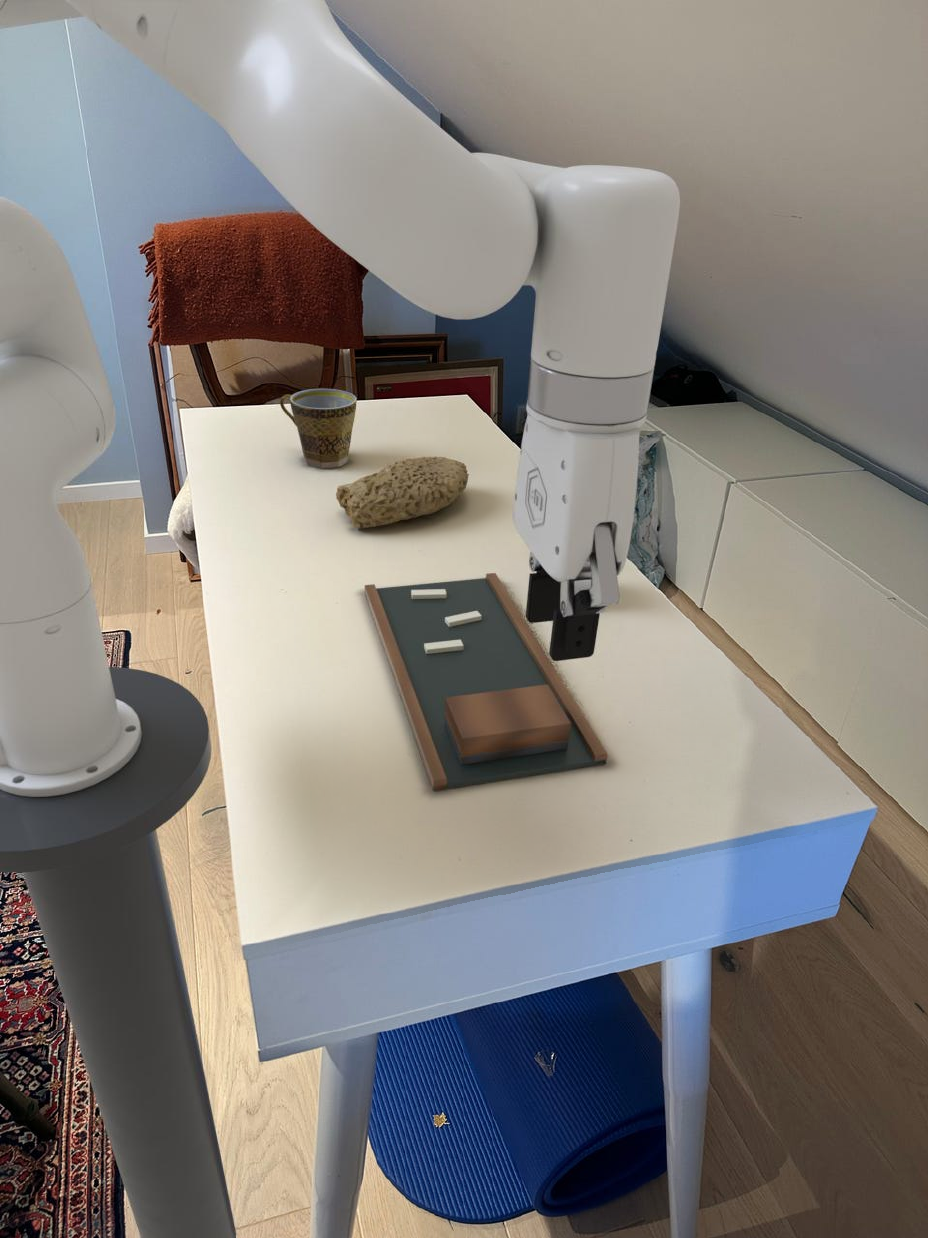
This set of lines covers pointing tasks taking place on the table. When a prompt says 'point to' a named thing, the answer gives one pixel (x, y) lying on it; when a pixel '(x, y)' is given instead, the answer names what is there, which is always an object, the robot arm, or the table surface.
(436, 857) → the table surface
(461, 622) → the chalk stroke
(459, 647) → the chalk stroke
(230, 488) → the table surface
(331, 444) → the ceramic cup
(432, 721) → the slate board
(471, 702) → the eraser
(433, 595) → the white rectangular bar
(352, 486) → the sponge
